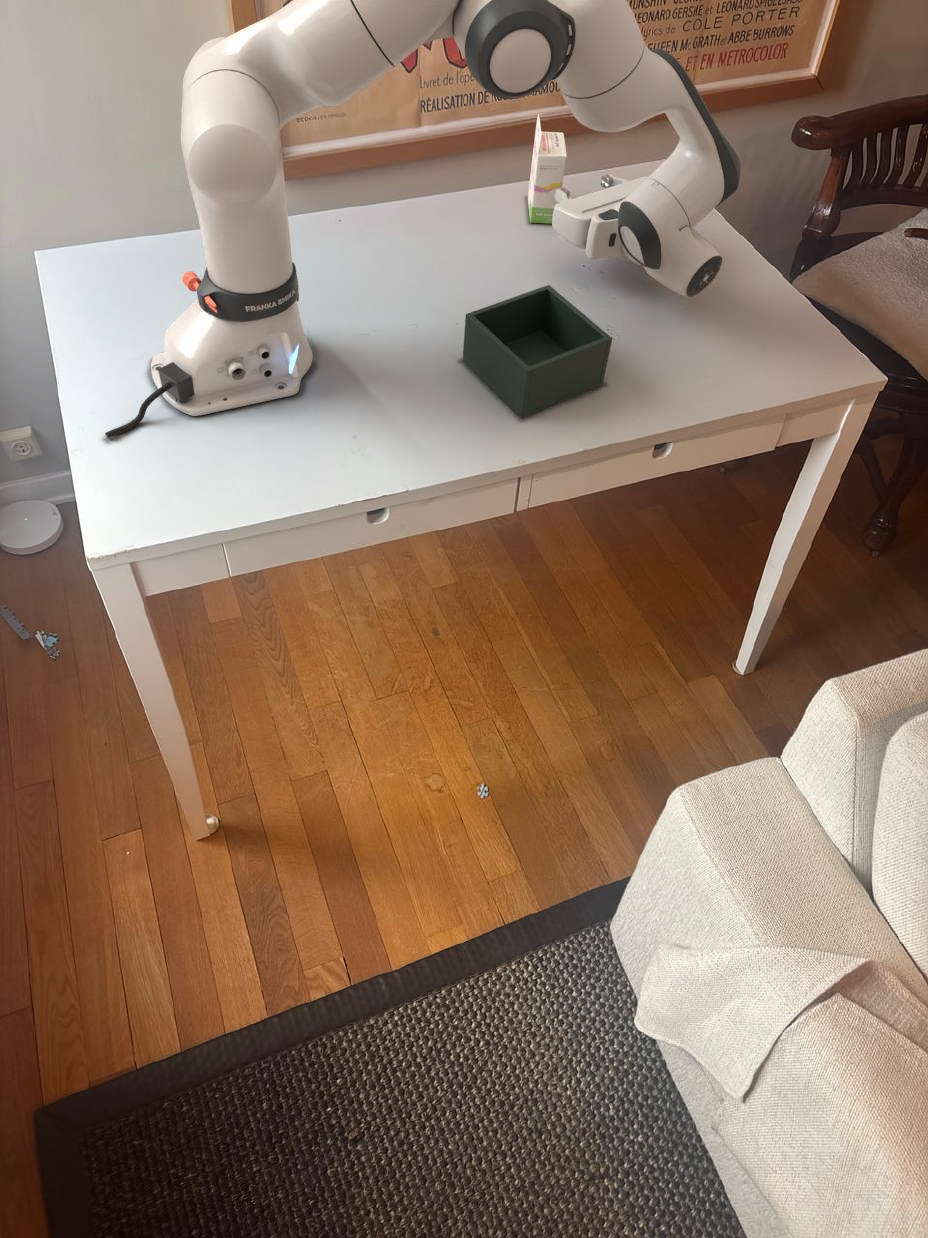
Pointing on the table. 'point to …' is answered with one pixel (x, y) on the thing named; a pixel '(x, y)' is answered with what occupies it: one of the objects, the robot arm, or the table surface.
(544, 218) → the ink box
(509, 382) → the open storage bin
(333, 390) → the table surface
